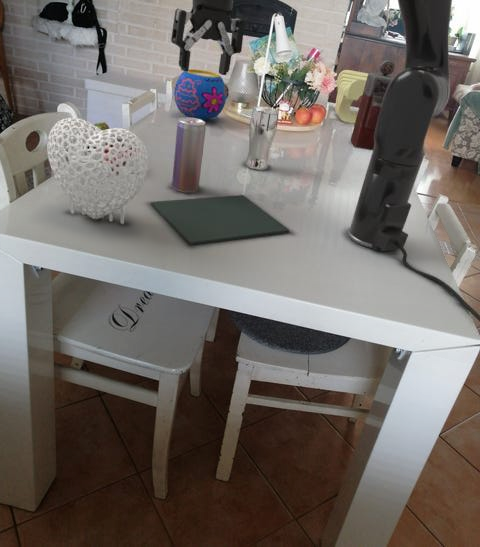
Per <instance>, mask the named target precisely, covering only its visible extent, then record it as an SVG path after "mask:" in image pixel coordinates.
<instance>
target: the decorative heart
mask: <svg viewBox="0 0 480 547" xmlns="http://www.w3.org/2000/svg"><path fill="white" fill-rule="evenodd" d="M115 131H116V132H115ZM77 134H78V135H77ZM117 134H119V135H117ZM65 137H66V138H65ZM107 138H108V139H107ZM117 139H122V142H118V141H117ZM60 140H61V142H60ZM74 140H76V141H77V142H75V141H74ZM81 140H83V141H84V142H82V141H81ZM106 143H108V145H107V146H106ZM46 144H47V145H46V151H47V152H46V153H47V157H48V162H49V166H50V168H51V171H52V173H53V175H54V177H55V180H56V182H57V183H58V185H59V186H60V187H61V190H62V191H63V192H64V193H65V195H66V196H67V197H68V198H69V200H70V214H73V215H74V214H75V205H76V206H77V207H78V208H79V209H80V211H81V215H82V216H85V215H87V216H88V217H90V218H91V219H94V220H99V219H102V220H104V217H106V216H108V221H109V222H113V216H114V215H113V214H112V213H114V212H116V211H118V210H120V224H122V225H124V223H125V210H124V208H123V207H125V206H126V205H127V204H128V203H130V202H131V201H132V200H133V199H134V198H135V197H136V196H137V195H138V194H139V192H140V190H141V188H143V185H144V183H145V181H146V179H147V175H148V171H149V155H148V152H147V148H146V146H145V145H144V143H143V142H142V140H141V139H140V138H139V137H138V135H136V134H135V133H133V131H131V130H128V129H125V128H122V127H121V128H120V127H112V128H110V129H107V130H104V131H102V130H101V129H99V128H98V127H96V126H95V125H94V124H93V123H92V122H89V121H87V120H85V119H83V118H79V117H68V118H62V119H60V120H58V121H57V122H56V123H55V124H54V125H53V126H52V127H51V129H50V130H49V134H48V137H47V142H46ZM122 144H124V146H123V147H122ZM110 145H113V147H110ZM115 145H116V146H115ZM80 147H82V148H83V149H81V148H80ZM88 147H89V148H88ZM129 147H130V148H131V147H132V150H129V149H130V148H129ZM105 149H106V150H109V152H108V153H107V154H105V153H104V151H105ZM126 150H127V153H126V152H125V151H126ZM135 150H136V152H135ZM115 151H116V152H115ZM119 152H121V153H120V154H118V153H119ZM84 153H85V154H86V156H85V155H84ZM130 153H132V154H131V155H133V157H132V156H131V157H130ZM122 155H124V156H123V157H122ZM97 156H98V157H99V159H98V158H97ZM125 156H126V158H125ZM118 157H119V158H120V159H119V158H118ZM106 158H107V159H109V160H108V161H106ZM114 158H115V159H116V161H115V160H114ZM111 161H112V163H113V164H111ZM125 161H126V163H125V164H124V165H123V162H125ZM117 164H118V165H119V167H116V165H117ZM111 168H113V170H114V171H113V170H112V169H111ZM117 173H118V175H117ZM91 179H92V180H93V181H94V184H92V182H91ZM105 181H106V182H105ZM98 191H99V192H98ZM83 201H85V203H84V202H83ZM100 202H101V203H100Z"/></svg>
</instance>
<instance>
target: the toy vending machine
mask: <svg viewBox="0 0 480 547" xmlns="http://www.w3.org/2000/svg"><path fill="white" fill-rule="evenodd" d="M379 71H380V73H379V72H378V73H377V72H369V73H368V77H367V80H366V84H365V88H364V91H363V95H362V96H361V99H360V103H359V107H358V111H357V117H356V121H355V123H354V124H353V128H352V132H351V136H350V140H349V141H350V143H351V144H352V146H353V147H354V148H357V149H364V150H370V151H373V149H374V144H375V142H374V134H375V129H376V125H377V121H378V117H379V113H380V109H381V105H382V102H383V98H384V95H385V92H386V90H387V87H388V85H389V83H390V82H391V80H392V79H393V78H394V77H395V75H394V76H393V75H391V74H393V73H394V71H395V64H394V62H392V60H387V59H386V60H384V61H382V62H381V63H380V65H379Z"/></svg>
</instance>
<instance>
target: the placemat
mask: <svg viewBox="0 0 480 547" xmlns="http://www.w3.org/2000/svg"><path fill="white" fill-rule="evenodd" d="M150 205H151V206H152V207H153V209H155V210H156V211H157V213H158V214H160V216H161V217H162V218H163V219H164V220H165V221H166V222H167V223H168V224H169V225H170V227H172V228H173V229H174V231H175V232H177V234H179V236H181V238H182V239H183V240H184V241H185V242H186V243H187V244H188V245H189V246H195V245H196V246H197V245H201V244H202V245H203V244H209V243H219V242H225V241H226V242H227V241H233V240H242V239H249V238H257V237H265V236H272V235H281V234H288V233H290V229H289V228H288V227H287V226H285V225H284V224H282V223H281V222H280V221H279V220H277V219H276V218H274V217H273V216H272V215H270V214H269V213H267V212H266V211H265V210H263V209H262V208H261V207H259V206H258V205H257V204H256V203H254V202H253V201H252V200H250V199H249V198H248V197H247V196H245V195H243V194H238V195H228V196H227V195H226V196H215V197H214V196H212V197H211V196H210V197H200V198H197V197H196V198H185V199H173V200H171V199H170V200H160V201H158V200H157V201H151V202H150Z"/></svg>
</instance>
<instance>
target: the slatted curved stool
mask: <svg viewBox="0 0 480 547" xmlns="http://www.w3.org/2000/svg"><path fill="white" fill-rule="evenodd" d="M368 74H369V73H368V72H362V71H358V70H357V71H356V70H350V69H344V70H342V71H340V72H339V74H338V75H337V78H336V83H335V87H336V88H337V94H336V98H335V104H334V112H335V113H336V115H337V116H338V118H339V120H341V121H342V122H344V123H350V124H355V121H356V117H357V114H358V112H354V111H352V110H350V109H351V106H352V104H353V102H354V101H358V100H359V98H360V97H362V95H363V91H364V88H365V84H366V80H367V77H368Z"/></svg>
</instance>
